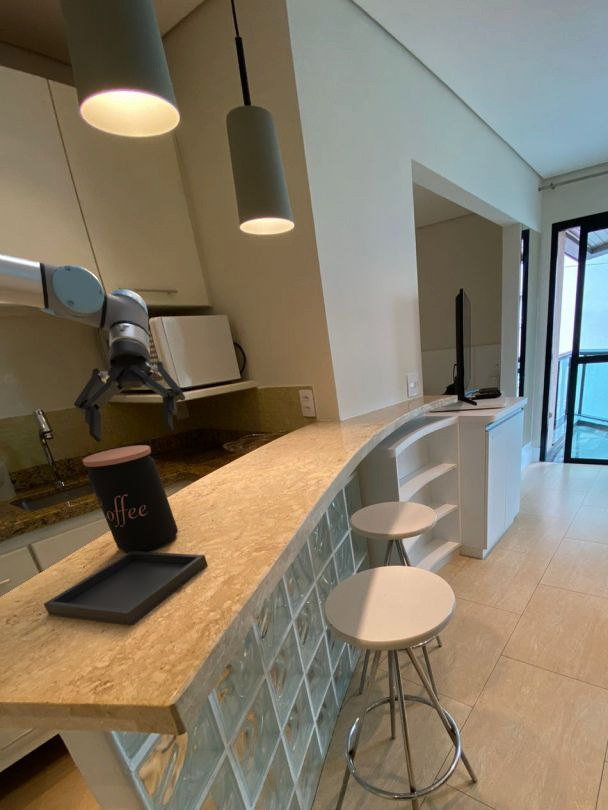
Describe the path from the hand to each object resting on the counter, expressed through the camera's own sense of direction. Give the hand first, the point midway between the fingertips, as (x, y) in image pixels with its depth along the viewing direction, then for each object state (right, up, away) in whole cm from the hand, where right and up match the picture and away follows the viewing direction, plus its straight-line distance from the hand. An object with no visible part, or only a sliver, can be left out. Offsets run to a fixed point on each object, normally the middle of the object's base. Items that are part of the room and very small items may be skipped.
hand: (132, 432), depth 81 cm
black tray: (+11, -28, -18) cm, 35 cm away
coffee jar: (+4, -22, -2) cm, 22 cm away
